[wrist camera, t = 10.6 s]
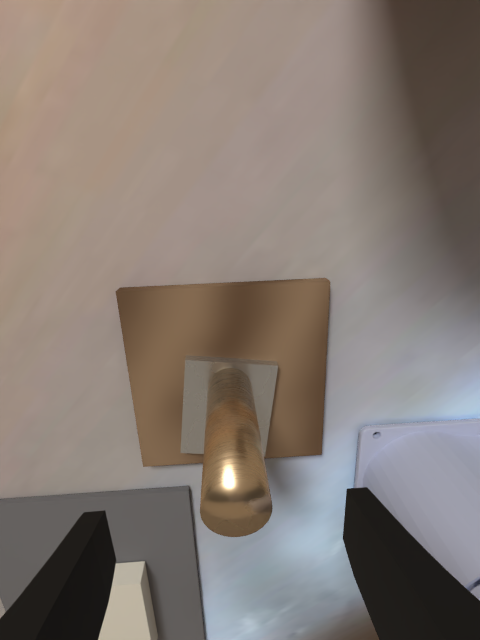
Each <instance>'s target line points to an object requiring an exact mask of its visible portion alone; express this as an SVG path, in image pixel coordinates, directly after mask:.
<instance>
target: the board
mask: <svg viewBox="0 0 480 640" xmlns="http://www.w3.org/2000/svg"><path fill="white" fill-rule="evenodd" d="M116 296H117V302H118V309H119V315H120V322H121V328H122V334H123V341H124V347H125V353H126V360H127V366H128V373H129V379H130V385H131V392H132V398H133V404H134V411H135V417H136V423H137V430H138V436H139V443H140V449H141V455H142V462H143V467H146V466H160V465H175V464H190V463H203V456H204V454H192V453H180V452H181V433H182V413H183V393H184V374H185V359H186V355H191V356H207V357H222V358H238V359H253V360H269V361H277V364H278V371H277V378H276V385H275V392H274V398H273V405H272V412H271V419H270V426H269V433H268V440H267V446H266V453H265V456H264V458H278V457H293V456H307V455H322V435H323V415H324V396H325V376H326V356H327V336H328V316H329V296H330V281H329V280H328V279H326V278H316V279H295V280H274V281H253V282H232V283H211V284H190V285H169V286H147V287H126V288H119V289H118V290H117V291H116Z"/></svg>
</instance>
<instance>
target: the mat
mask: <svg viewBox="0 0 480 640" xmlns="http://www.w3.org/2000/svg"><path fill="white" fill-rule="evenodd" d="M104 510H105V512H106V516H107V521H108V525H109V530H110V534H111V538H112V543H113V547H114V552H115V556H116V563H128V562H140V561H145V564H146V570H147V576H148V582H149V587H150V593H151V599H152V605H153V610H154V616H155V622H156V628H157V633H158V638H157V640H205V633H204V623H203V614H202V604H201V595H200V585H199V576H198V567H197V557H196V548H195V538H194V529H193V519H192V510H191V501H190V491H189V486H180V487H166V488H152V489H138V490H124V491H109V492H95V493H81V494H67V495H53V496H39V497H24V498H10V499H0V598H1V600H2V603H3V606H4V608H5V611H7V610H8V609H9V608H10V607H11V605H12V604H13V603H14V602H15V601H16V599H17V598H18V597H19V596H20V595H21V593H22V592H23V591H24V590H25V588H26V587H27V586H28V584H29V583H30V582H31V581H32V579H33V578H34V577H35V576H36V574H37V573H38V572H39V570H40V569H41V568H42V567H43V565H44V564H45V563H46V561H47V560H48V559H49V558H50V556H51V555H52V554H53V552H54V551H55V550H56V548H57V547H58V546H59V544H60V543H61V542H62V540H63V539H64V538H65V536H66V535H67V534H68V532H69V531H70V529H71V528H72V527H73V525H74V524H75V523H76V521H77V520H78V519H79V517H80V516H81V515H82V514H83V513H84V512H92V511H104Z"/></svg>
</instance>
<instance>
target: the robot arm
mask: <svg viewBox="0 0 480 640" xmlns="http://www.w3.org/2000/svg"><path fill="white" fill-rule="evenodd" d="M375 432H378V433H377V434H375V435H373V434H374V433H375ZM343 540H344V544H345V547H346V551H347V554H348V558H349V561H350V564H351V568H352V571H353V574H354V577H355V580H356V582H357V585H358V587H359V590H360V592H361V595H362V597H363V600H364V602H365V605H366V607H367V610H368V612H369V615H370V617H371V620H372V622H373V625H374V627H375V630H376V632H377V634H378V637H379V639H380V640H480V418H478V419H463V420H447V421H432V422H417V423H401V424H386V425H370V426H364V427H363V428H361V429H360V431H359V438H358V449H357V460H356V471H355V482H354V488H351V489H347V495H346V507H345V519H344V531H343ZM115 566H116V556H115V552H114V547H113V543H112V538H111V534H110V530H109V525H108V521H107V516H106V512H105V510H104V511H92V512H84V513H83V514H82V515H81V516H80V517H79V519H78V520H77V521H76V523H75V524H74V525H73V527H72V528H71V529H70V531H69V532H68V534H67V535H66V536H65V538H64V539H63V540H62V542H61V543H60V544H59V546H58V547H57V548H56V550H55V551H54V552H53V554H52V555H51V556H50V558H49V559H48V560H47V561H46V563H45V564H44V565H43V567H42V568H41V569H40V570H39V572H38V573H37V574H36V576H35V577H34V578H33V579H32V581H31V582H30V583H29V584H28V586H27V587H26V588H25V590H24V591H23V592H22V593H21V595H20V596H19V597H18V598H17V599H16V601H15V602H14V603H13V604H12V605H11V607H10V608H9V609H8V610H7V611H6V613H5V614H4V615H3V616H2V617H1V618H0V640H98V638H99V634H100V631H101V627H102V624H103V620H104V617H105V613H106V610H107V606H108V603H109V598H110V593H111V588H112V582H113V577H114V571H115Z"/></svg>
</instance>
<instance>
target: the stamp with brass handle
mask: <svg viewBox="0 0 480 640" xmlns="http://www.w3.org/2000/svg"><path fill="white" fill-rule="evenodd" d="M277 371H278V364H277V361H269V360H253V359H238V358H222V357H207V356H191V355H186V359H185V374H184V393H183V413H182V433H181V452H180V453H192V454H204V456H203V472H202V488H201V504H200V514H201V518H202V520H203V522H204V524H205V525H206V526H207V527H208V528H209V529H210V530H212V531H213V532H215V533H217V534H220V535H223V536H228V537H240V536H246V535H249V534H252V533H254V532H256V531H258V530H259V529H261V528H262V527H263V526H264V525H265V524H266V523H267V522H268V520H269V518H270V516H271V513H272V501H271V495H270V489H269V484H268V478H267V472H266V466H265V460H264V456H265V453H266V446H267V440H268V433H269V426H270V419H271V412H272V405H273V398H274V392H275V385H276V378H277Z"/></svg>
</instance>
